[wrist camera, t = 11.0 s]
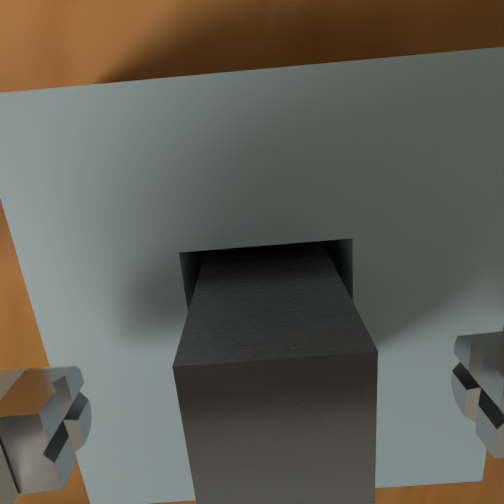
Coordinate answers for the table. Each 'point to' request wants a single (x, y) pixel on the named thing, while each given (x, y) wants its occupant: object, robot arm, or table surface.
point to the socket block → (261, 237)
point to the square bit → (277, 381)
